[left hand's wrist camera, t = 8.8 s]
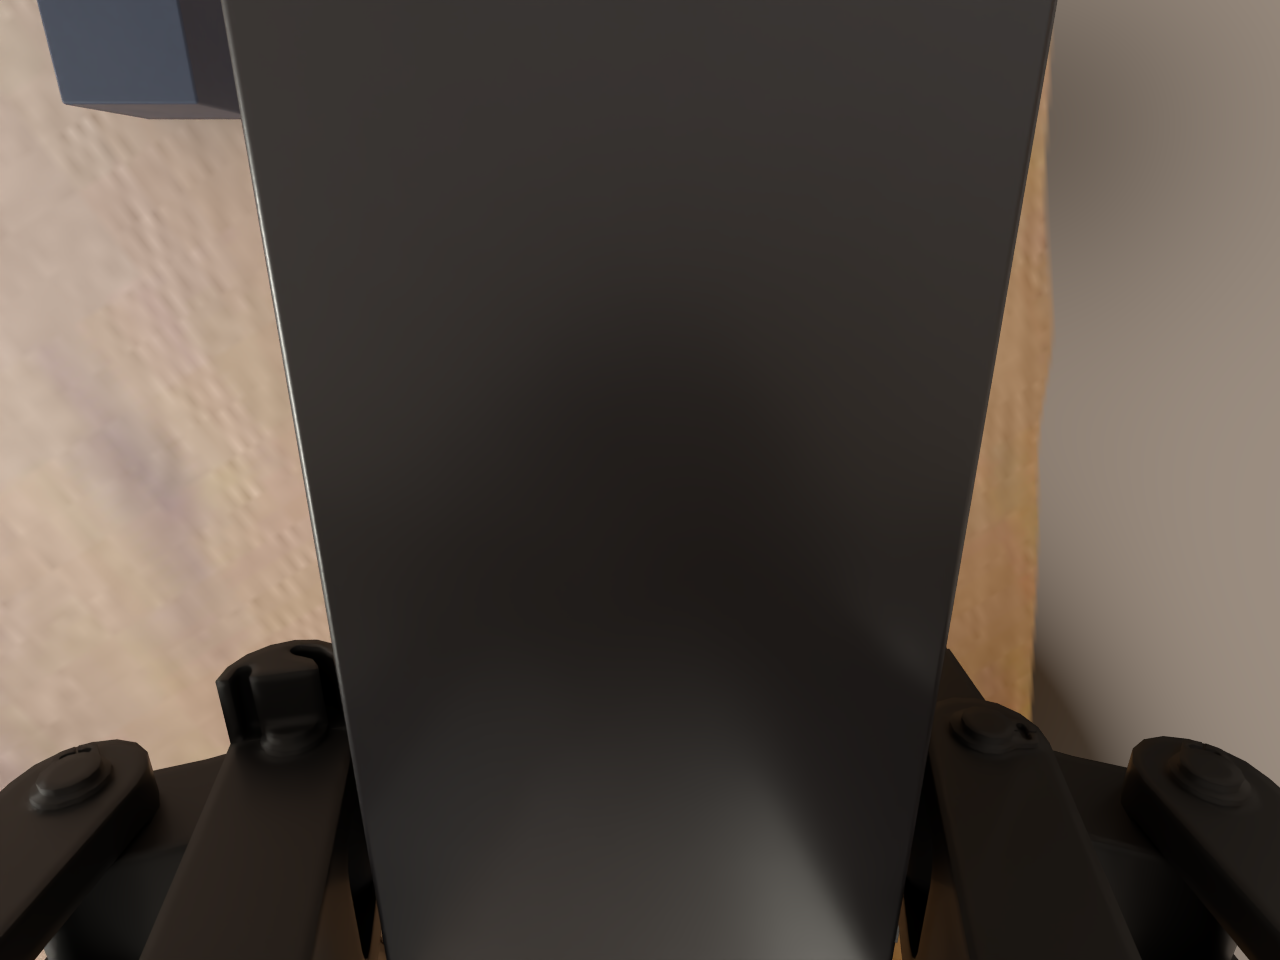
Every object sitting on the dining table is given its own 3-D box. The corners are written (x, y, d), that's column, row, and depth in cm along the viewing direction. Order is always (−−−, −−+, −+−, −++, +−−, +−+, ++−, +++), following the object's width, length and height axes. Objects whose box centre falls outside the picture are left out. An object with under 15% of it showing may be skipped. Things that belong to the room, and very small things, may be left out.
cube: (264, 119, 25) (198, 104, 21) (148, 119, 25) (61, 104, 21) (241, -18, 24) (166, -60, 20) (118, -18, 24) (20, -60, 20)
